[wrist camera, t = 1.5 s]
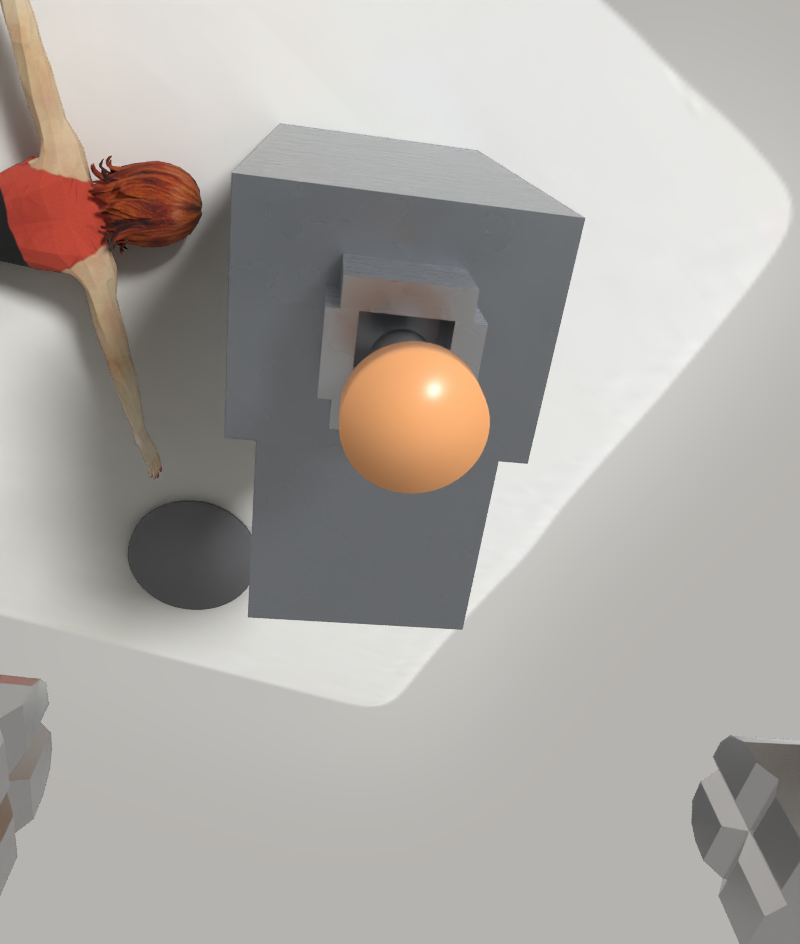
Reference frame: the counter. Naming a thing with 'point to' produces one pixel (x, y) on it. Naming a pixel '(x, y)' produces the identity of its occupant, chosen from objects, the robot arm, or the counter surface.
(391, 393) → the plunger
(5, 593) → the counter surface
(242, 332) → the housing
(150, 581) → the pad
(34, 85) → the figurine
